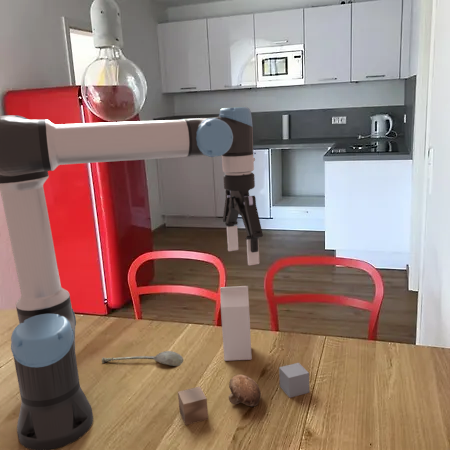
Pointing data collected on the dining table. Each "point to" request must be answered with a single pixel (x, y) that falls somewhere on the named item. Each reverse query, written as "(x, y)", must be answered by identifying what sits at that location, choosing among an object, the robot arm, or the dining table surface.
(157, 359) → the soupspoon
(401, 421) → the dining table surface
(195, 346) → the dining table surface
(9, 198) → the robot arm
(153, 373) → the dining table surface
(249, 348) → the milk carton
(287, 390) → the slate-grey block
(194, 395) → the walnut block
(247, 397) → the mushroom
